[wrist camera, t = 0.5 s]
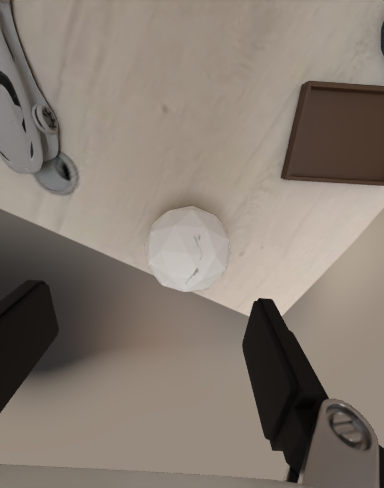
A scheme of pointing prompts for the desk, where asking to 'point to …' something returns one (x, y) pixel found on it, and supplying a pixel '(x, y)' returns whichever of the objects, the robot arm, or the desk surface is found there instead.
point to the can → (382, 39)
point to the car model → (22, 106)
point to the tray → (337, 134)
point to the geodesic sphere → (187, 249)
